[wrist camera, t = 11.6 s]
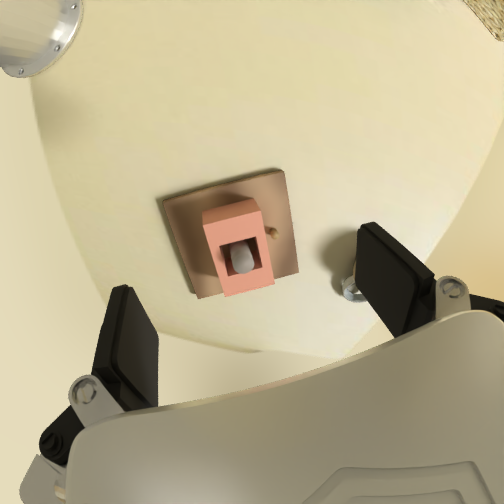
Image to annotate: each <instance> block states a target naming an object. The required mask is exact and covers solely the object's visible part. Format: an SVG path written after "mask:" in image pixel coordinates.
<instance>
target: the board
mask: <svg viewBox="0 0 504 504" xmlns="http://www.w3.org/2000/svg"><path fill="white" fill-rule="evenodd" d="M252 198H254V199H255V201H256V203H257V205H258V206H259V208H260V210H261V214H262V219H263V224H264V229H265V235H266V240H267V245H268V250H269V255H270V261H271V266H272V271H273V277H274V279H277V278H281V277H284V276H288V275H292V274H295V273H299V270H298V262H297V254H296V247H295V239H294V232H293V225H292V218H291V212H290V205H289V198H288V192H287V186H286V180H285V174H284V171H282V170H279V171H275V172H270V173H266V174H261V175H257V176H253V177H248V178H244V179H240V180H236V181H232V182H228V183H224V184H220V185H216V186H213V187H209V188H205V189H201V190H198V191H194V192H191V193H187V194H184V195H180V196H177V197H173V198H170V199H166V200H164V201H163V205H164V208H165V211H166V214H167V217H168V220H169V223H170V226H171V229H172V232H173V234H174V237H175V240H176V243H177V245H178V248H179V251H180V254H181V256H182V259H183V262H184V264H185V267H186V270H187V272H188V275H189V277H190V280H191V282H192V285H193V287H194V290H195V293H196V295H197V297H198V299H201V298H205V297H209V296H213V295H217V294H220V293H224V292H223V289H222V286H221V283H220V279H219V276H218V273H217V270H216V267H215V264H214V261H213V257H212V254H211V251H210V248H209V244H208V241H207V238H206V235H205V231H204V228H203V219H202V211H205V210H209V209H213V208H217V207H221V206H224V205H228V204H232V203H236V202H240V201H244V200H248V199H252ZM221 247H222V251H223V254H224V258H228V257H231V259H232V264H233V268H234V270H235V271H236V272H237V273H240V274H245V273H248V272H250V271H251V270H252V269H253V267H254V261H253V258H252V255H251V251H255V250H256V247H255V243H254V238H253V237H252V238H248V239H244V240H240V241H236V242H232V243H228V244H224V245H221Z"/></svg>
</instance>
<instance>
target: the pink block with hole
mask: <svg viewBox="0 0 504 504" xmlns="http://www.w3.org/2000/svg"><path fill="white" fill-rule="evenodd" d="M202 219H203V228H204V231H205V235H206V238H207V241H208V244H209V248H210V251H211V254H212V257H213V261H214V264H215V267H216V270H217V273H218V276H219V279H220V283H221V286H222V289H223V292H224V295H225V297H227V296H231V295H235V294H239V293H243V292H246V291H250V290H254V289H258V288H262V287H265V286H269V285H273V284H275V282H274V277H273V271H272V266H271V261H270V255H269V250H268V245H267V240H266V235H265V229H264V224H263V219H262V214H261V210H260V208H259V206H258V205H257V203H256V201H255V199H254V198H252V199H248V200H244V201H240V202H236V203H232V204H228V205H224V206H221V207H217V208H213V209H209V210H205V211H202ZM252 237H253V238H254V243H255V247H256V250H255V251H251V255H252V258H253V261H254V267H253V269H252V270H251V271H250V272H248V273H245V274H240V273H237V272H236V271H235V270H234V268H233V264H232V259H231V257H228V258H224V254H223V251H222V247H221V245H224V244H228V243H232V242H236V241H240V240H244V239H248V238H252Z"/></svg>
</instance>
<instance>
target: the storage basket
mask: <svg viewBox="0 0 504 504" xmlns="http://www.w3.org/2000/svg"><path fill="white" fill-rule="evenodd" d="M464 1H465V2H466V3H467V4H468V6H469V7H470V8H471V9H472V10H473V11H474V12H475V13H476V15H477V16H478V17H479V18H480V19H481V21H482V22H483V23H484V24H485V26H486V27H487V28H488V29H489V30H490V32H491V33H492V35H493V36H494V37H495V38H496V39H497V40H498V41H500V42H504V0H464Z"/></svg>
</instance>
